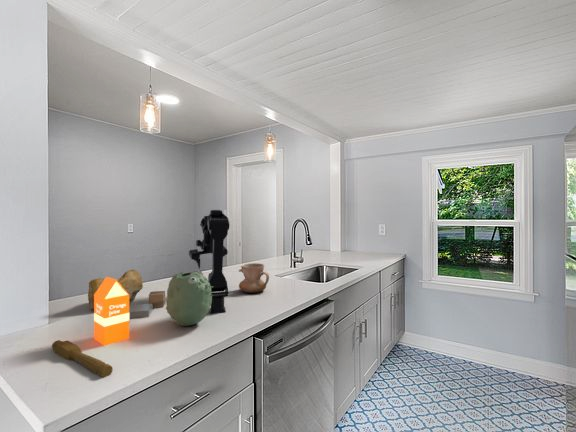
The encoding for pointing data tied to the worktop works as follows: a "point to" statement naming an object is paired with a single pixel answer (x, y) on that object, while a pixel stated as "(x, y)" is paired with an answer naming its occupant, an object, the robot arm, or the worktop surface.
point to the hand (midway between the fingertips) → (207, 267)
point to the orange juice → (111, 313)
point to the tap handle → (81, 357)
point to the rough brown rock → (128, 281)
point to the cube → (157, 299)
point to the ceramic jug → (253, 278)
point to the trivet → (140, 310)
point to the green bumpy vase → (188, 298)
